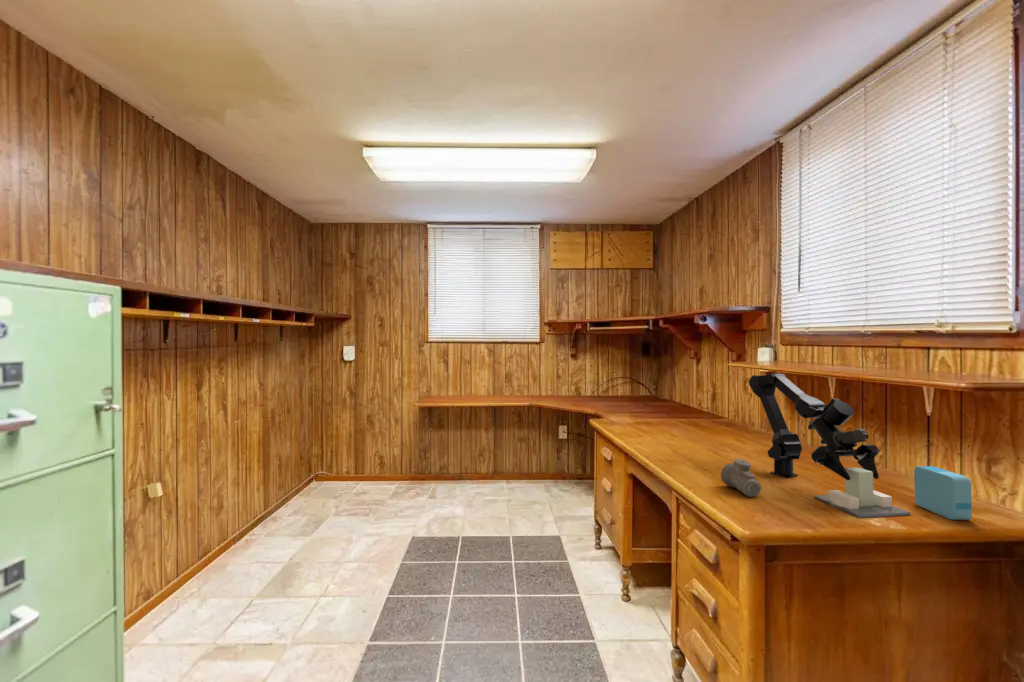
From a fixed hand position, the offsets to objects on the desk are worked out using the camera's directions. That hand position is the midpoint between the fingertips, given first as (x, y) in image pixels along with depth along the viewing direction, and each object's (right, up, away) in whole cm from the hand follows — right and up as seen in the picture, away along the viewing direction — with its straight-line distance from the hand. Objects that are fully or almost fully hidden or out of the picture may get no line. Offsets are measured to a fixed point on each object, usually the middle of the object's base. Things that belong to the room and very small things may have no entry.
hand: (863, 479), depth 121 cm
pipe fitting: (-28, -9, +14) cm, 33 cm away
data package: (+19, -9, -4) cm, 21 cm away
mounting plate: (0, -9, +1) cm, 9 cm away
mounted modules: (0, -9, +1) cm, 9 cm away
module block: (0, -8, +1) cm, 8 cm away
